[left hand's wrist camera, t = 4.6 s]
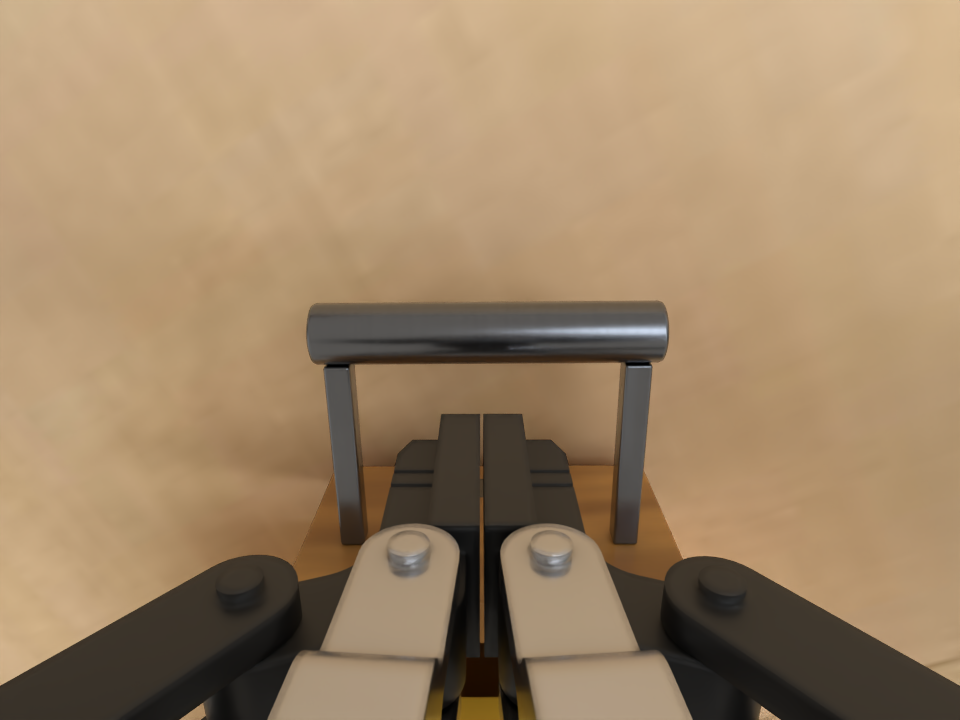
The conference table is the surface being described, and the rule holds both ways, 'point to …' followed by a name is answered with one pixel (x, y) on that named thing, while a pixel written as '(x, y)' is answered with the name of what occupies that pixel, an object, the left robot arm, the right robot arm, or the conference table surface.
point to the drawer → (599, 489)
